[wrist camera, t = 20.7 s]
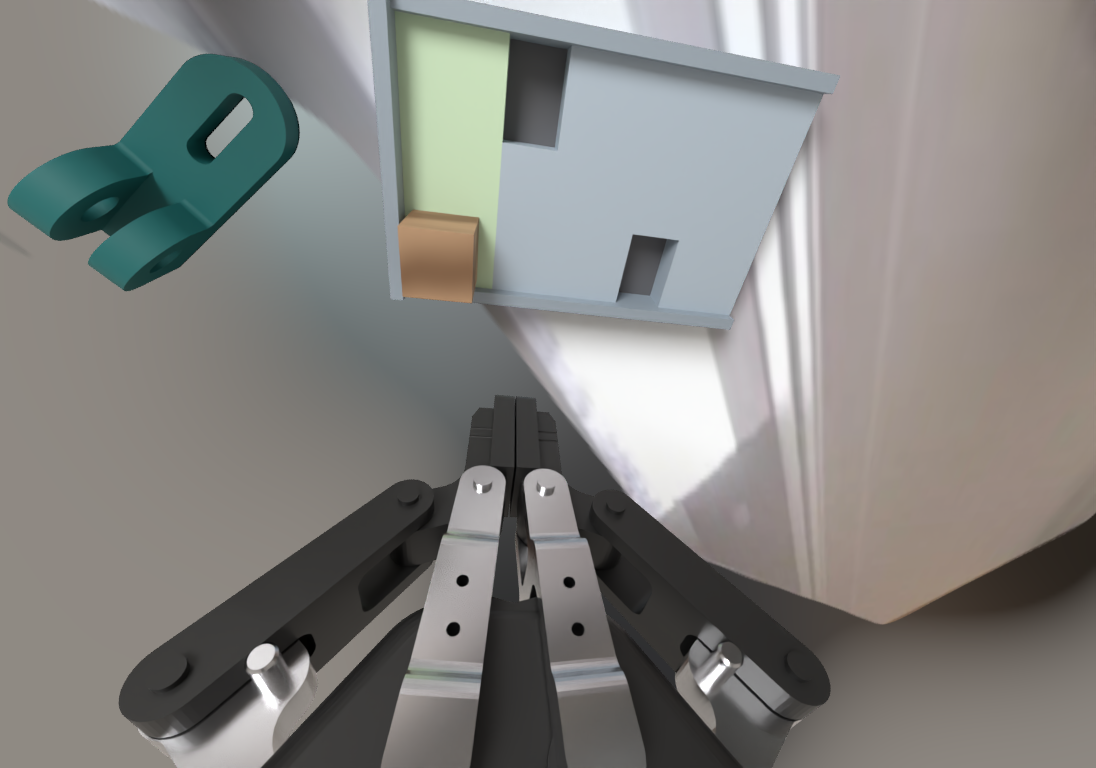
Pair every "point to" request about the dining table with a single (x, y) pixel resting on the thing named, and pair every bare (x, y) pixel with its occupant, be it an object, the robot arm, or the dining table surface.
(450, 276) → the block
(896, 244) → the dining table surface
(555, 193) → the tray
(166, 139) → the bracket
